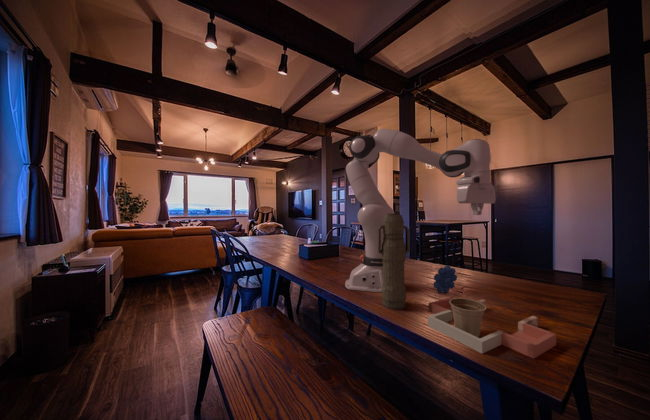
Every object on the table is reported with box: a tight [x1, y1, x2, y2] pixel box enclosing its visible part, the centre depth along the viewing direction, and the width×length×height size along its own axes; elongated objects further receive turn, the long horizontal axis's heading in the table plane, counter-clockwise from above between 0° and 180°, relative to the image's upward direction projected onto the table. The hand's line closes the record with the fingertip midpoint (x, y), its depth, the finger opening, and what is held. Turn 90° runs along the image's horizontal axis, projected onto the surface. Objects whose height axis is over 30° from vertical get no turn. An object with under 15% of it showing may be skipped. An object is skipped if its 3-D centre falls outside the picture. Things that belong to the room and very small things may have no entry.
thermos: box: [377, 213, 410, 310], centre depth 91 cm, size 9×12×35 cm
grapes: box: [432, 264, 458, 294], centre depth 105 cm, size 12×7×12 cm, turn 104°
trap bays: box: [428, 296, 557, 360], centre depth 75 cm, size 12×30×3 cm, turn 27°
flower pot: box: [449, 297, 487, 338], centre depth 70 cm, size 9×9×9 cm
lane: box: [477, 299, 539, 333], centre depth 79 cm, size 9×16×3 cm, turn 27°
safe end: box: [427, 310, 504, 354], centre depth 70 cm, size 10×16×3 cm, turn 27°
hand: (477, 215), depth 95 cm, fingers closed
